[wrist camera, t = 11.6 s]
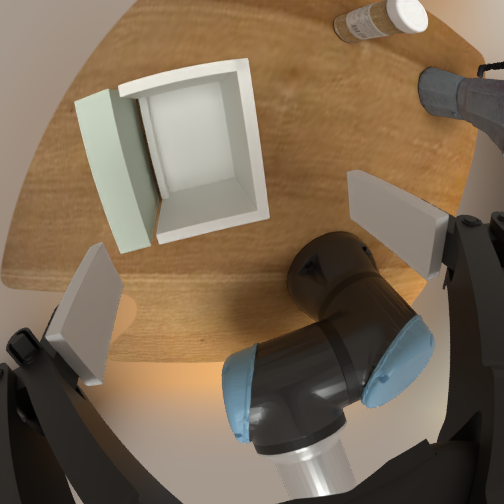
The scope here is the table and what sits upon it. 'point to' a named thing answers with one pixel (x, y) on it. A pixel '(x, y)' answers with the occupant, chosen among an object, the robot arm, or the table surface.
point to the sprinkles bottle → (381, 20)
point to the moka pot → (466, 99)
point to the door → (120, 166)
